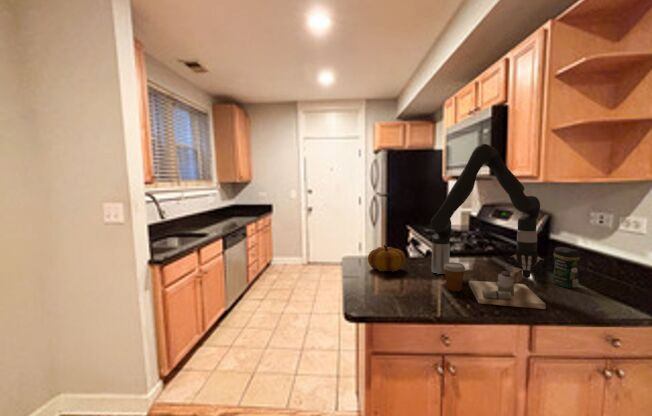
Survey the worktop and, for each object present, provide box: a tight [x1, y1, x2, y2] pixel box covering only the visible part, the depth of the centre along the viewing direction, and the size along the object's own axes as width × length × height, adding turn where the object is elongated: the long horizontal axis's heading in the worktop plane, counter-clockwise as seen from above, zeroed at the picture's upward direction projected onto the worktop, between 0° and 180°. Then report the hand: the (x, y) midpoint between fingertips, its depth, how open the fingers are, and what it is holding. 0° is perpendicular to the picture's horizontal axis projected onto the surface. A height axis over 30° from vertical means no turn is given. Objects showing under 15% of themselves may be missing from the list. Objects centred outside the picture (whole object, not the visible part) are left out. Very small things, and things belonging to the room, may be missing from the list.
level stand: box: [468, 280, 547, 310], centre depth 132 cm, size 24×24×5 cm
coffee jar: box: [552, 246, 581, 289], centre depth 142 cm, size 10×8×19 cm
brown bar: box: [497, 267, 523, 296], centre depth 131 cm, size 19×6×10 cm, turn 129°
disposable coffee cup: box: [444, 261, 466, 292], centre depth 140 cm, size 10×10×12 cm
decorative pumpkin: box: [367, 244, 406, 273], centre depth 174 cm, size 20×22×15 cm
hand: (526, 277), depth 133 cm, fingers closed
